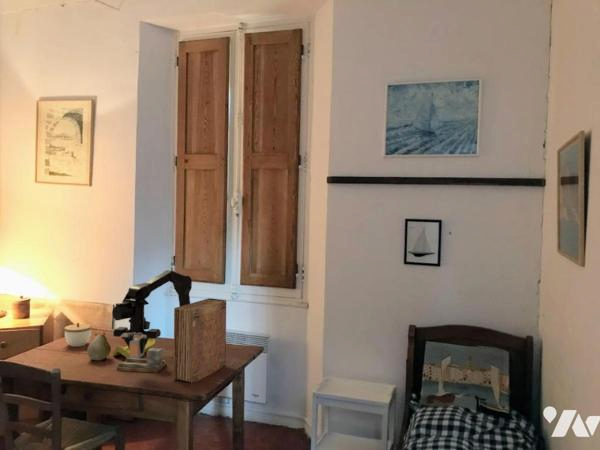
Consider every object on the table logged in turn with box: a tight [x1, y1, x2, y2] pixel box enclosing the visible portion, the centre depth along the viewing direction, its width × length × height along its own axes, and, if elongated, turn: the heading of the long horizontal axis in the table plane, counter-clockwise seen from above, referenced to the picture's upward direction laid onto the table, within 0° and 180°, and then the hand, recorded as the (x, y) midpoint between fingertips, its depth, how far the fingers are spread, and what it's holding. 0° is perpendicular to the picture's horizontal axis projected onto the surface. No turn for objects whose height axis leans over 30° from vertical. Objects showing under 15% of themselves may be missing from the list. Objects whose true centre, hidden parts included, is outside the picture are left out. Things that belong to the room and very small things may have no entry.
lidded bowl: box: [63, 322, 92, 348], centre depth 265 cm, size 13×13×11 cm
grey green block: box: [130, 337, 145, 359], centre depth 222 cm, size 6×4×7 cm
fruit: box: [86, 331, 112, 361], centre depth 242 cm, size 10×9×12 cm
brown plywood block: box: [172, 298, 227, 384], centre depth 226 cm, size 25×9×30 cm, turn 156°
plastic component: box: [112, 335, 156, 359], centre depth 254 cm, size 20×7×10 cm
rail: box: [116, 347, 167, 374], centre depth 232 cm, size 18×11×8 cm, turn 82°
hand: (136, 352), depth 223 cm, fingers closed on grey green block, 4 cm apart
